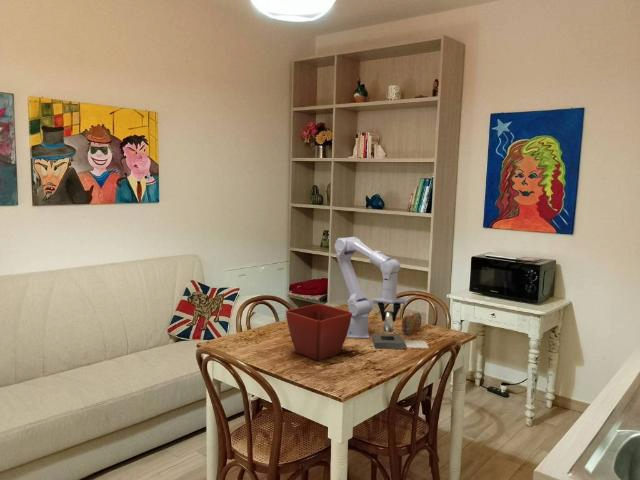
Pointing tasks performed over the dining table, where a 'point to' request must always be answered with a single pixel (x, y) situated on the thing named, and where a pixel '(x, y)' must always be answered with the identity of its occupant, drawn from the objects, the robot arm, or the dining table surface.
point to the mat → (415, 344)
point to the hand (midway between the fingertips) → (388, 320)
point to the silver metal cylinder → (388, 321)
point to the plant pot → (318, 330)
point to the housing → (387, 341)
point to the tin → (411, 323)
